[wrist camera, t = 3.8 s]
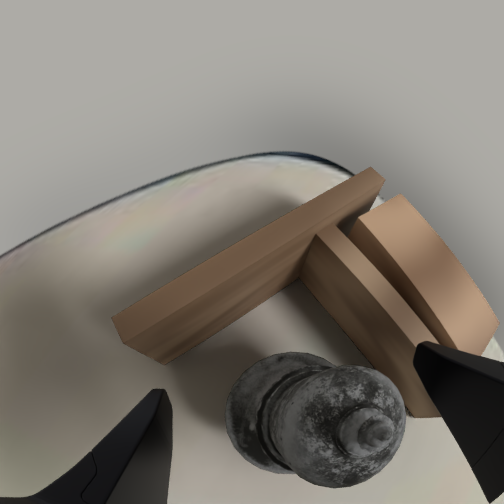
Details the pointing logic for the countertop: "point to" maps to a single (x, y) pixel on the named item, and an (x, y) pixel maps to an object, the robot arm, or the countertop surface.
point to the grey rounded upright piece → (315, 419)
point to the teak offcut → (425, 275)
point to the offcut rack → (281, 275)
